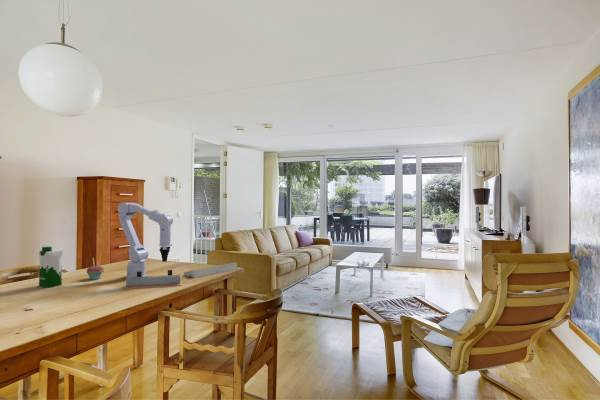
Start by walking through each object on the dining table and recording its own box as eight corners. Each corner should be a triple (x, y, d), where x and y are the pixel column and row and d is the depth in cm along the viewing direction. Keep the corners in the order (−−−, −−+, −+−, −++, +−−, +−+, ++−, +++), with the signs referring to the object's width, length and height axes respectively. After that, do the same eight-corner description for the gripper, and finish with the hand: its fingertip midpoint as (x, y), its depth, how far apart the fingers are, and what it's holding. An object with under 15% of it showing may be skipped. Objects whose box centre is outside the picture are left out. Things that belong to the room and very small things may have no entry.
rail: (126, 287, 178) (126, 279, 178) (127, 285, 182) (127, 277, 182) (180, 283, 187) (180, 276, 187) (179, 282, 191) (180, 274, 191)
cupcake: (82, 279, 194) (83, 257, 194) (96, 276, 202) (97, 255, 202) (93, 280, 191) (94, 259, 191) (107, 277, 199) (107, 256, 199)
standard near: (133, 284, 185) (133, 275, 185) (135, 280, 195) (135, 271, 195) (142, 284, 186) (142, 274, 186) (143, 279, 197) (143, 270, 197)
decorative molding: (184, 280, 209) (194, 278, 204) (183, 272, 210) (193, 270, 204) (227, 271, 237) (237, 269, 231) (226, 264, 238) (236, 262, 232)
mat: (124, 289, 175) (124, 288, 175) (126, 285, 184) (126, 284, 184) (181, 285, 185) (181, 284, 185) (180, 281, 194) (180, 281, 194)
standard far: (165, 282, 191) (166, 273, 191) (165, 278, 201) (165, 269, 201) (174, 282, 192) (174, 273, 192) (173, 277, 202) (174, 269, 202)
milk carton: (35, 286, 177) (36, 246, 177) (54, 282, 185) (55, 245, 185) (46, 288, 173) (47, 248, 173) (64, 284, 182) (65, 246, 182)
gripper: (172, 238, 195) (172, 262, 195) (172, 235, 209) (172, 258, 209) (159, 238, 193) (158, 262, 193) (159, 235, 206) (159, 258, 206)
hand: (164, 260), depth 200 cm, fingers open, 7 cm apart
